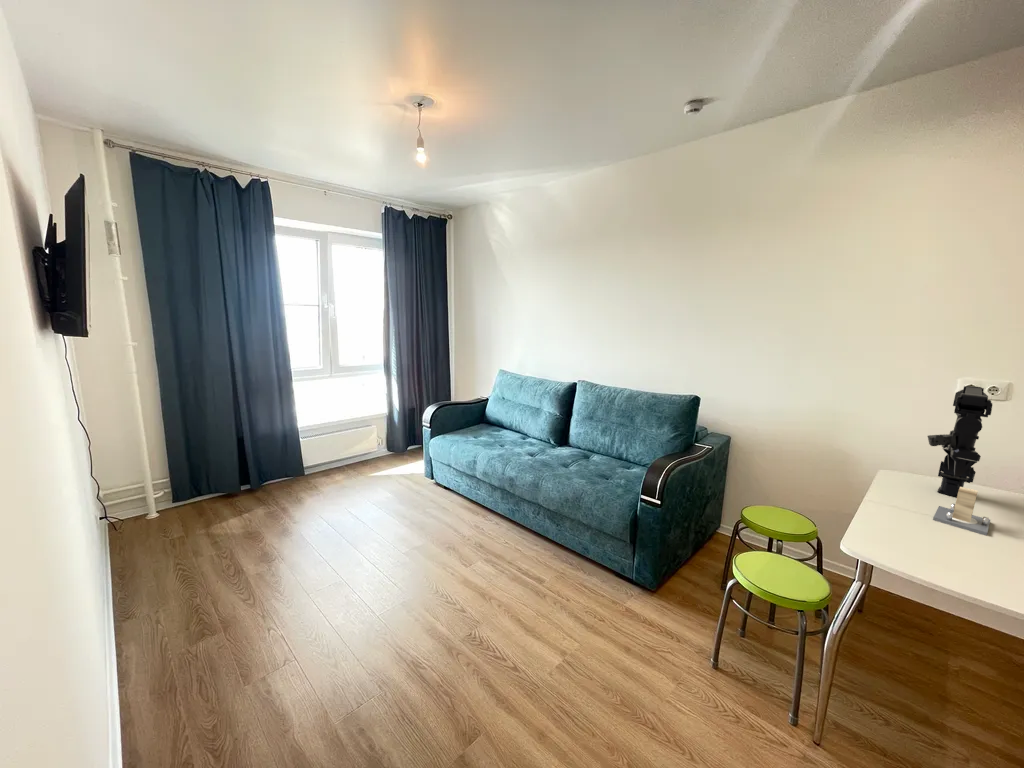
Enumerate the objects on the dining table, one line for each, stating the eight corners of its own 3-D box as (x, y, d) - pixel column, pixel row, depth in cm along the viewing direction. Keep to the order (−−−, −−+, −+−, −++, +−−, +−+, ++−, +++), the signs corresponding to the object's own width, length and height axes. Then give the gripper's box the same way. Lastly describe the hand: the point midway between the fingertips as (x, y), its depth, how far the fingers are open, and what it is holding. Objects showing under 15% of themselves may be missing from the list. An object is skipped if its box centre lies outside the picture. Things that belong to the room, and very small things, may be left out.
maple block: (953, 513, 139) (960, 486, 137) (971, 518, 136) (977, 490, 134) (952, 517, 137) (958, 490, 135) (969, 522, 134) (976, 494, 132)
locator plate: (938, 508, 145) (940, 499, 144) (989, 522, 136) (992, 512, 135) (932, 519, 138) (934, 510, 137) (986, 535, 128) (989, 525, 128)
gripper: (928, 421, 153) (917, 461, 156) (938, 428, 138) (926, 472, 141) (971, 428, 146) (959, 470, 149) (986, 437, 132) (973, 483, 134)
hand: (953, 473), depth 143 cm, fingers open, 9 cm apart
